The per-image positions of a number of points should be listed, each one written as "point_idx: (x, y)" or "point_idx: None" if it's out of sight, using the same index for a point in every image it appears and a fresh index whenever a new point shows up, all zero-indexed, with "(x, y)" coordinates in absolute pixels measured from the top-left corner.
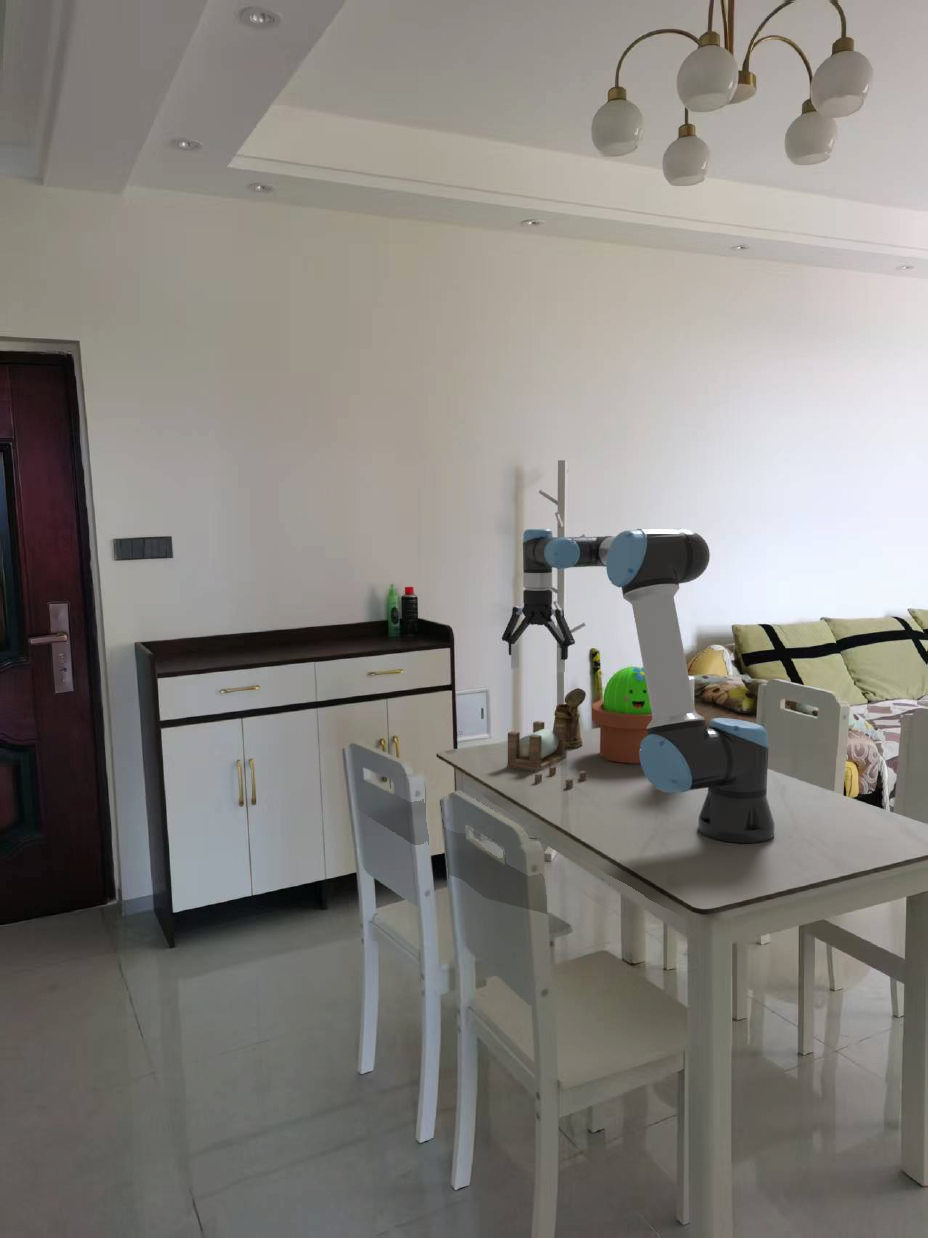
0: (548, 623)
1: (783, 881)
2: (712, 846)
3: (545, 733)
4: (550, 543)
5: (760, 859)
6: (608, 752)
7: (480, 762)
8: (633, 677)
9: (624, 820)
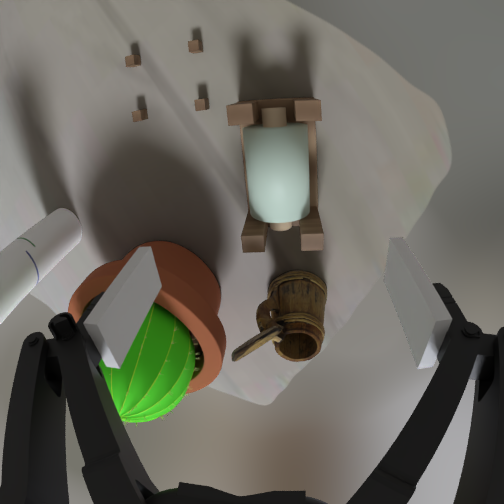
0: (83, 473)
1: None
2: None
3: (263, 191)
4: None
5: None
6: (172, 249)
7: (378, 99)
8: None
9: (24, 21)
